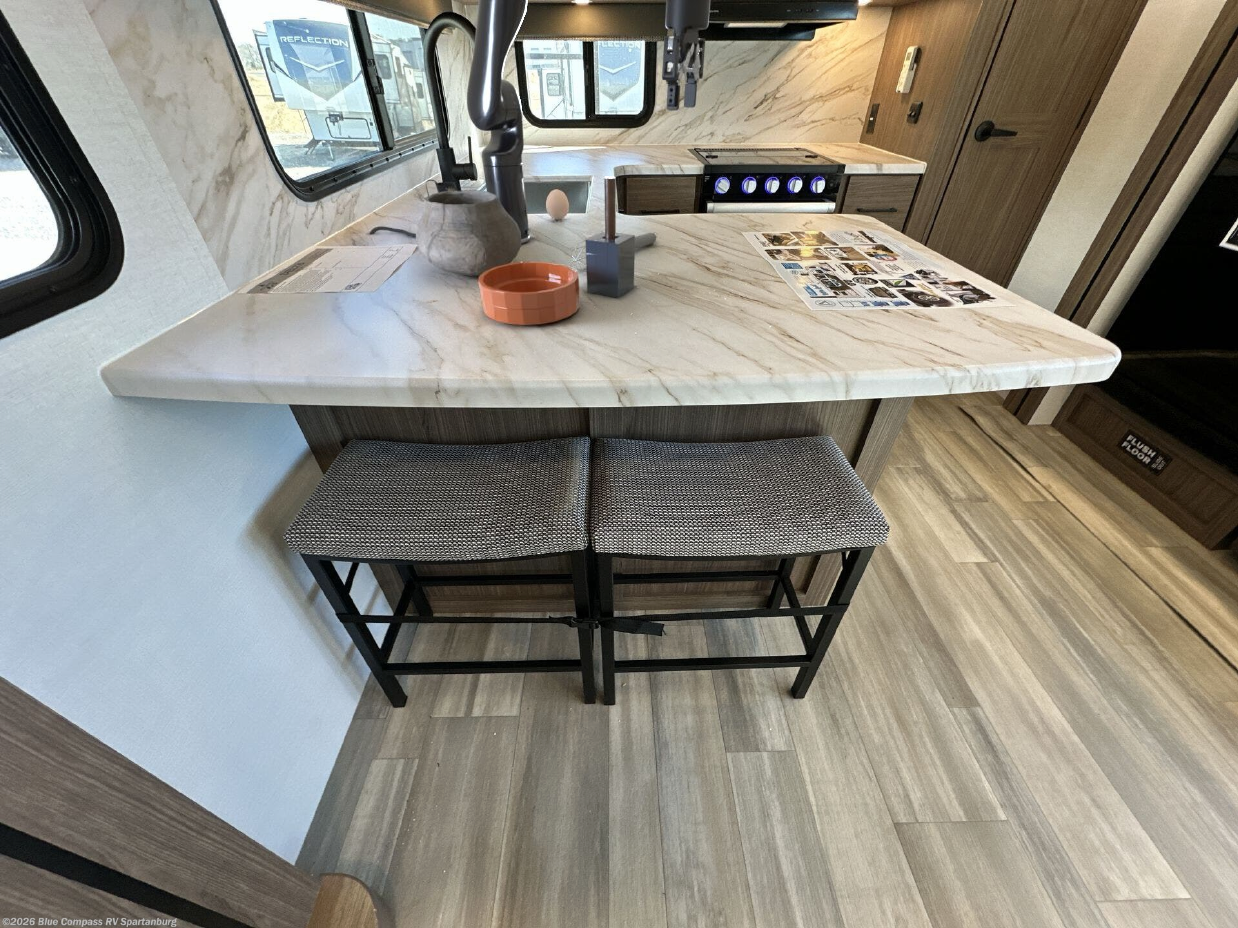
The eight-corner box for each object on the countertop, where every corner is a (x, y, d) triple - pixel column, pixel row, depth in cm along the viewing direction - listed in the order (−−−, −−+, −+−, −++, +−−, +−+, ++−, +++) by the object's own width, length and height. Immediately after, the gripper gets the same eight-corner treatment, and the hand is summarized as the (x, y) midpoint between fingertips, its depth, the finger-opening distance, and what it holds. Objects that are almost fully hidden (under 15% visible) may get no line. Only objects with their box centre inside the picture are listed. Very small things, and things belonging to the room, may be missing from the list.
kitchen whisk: (666, 243, 129) (668, 216, 125) (588, 280, 107) (586, 249, 103) (646, 239, 132) (647, 213, 128) (565, 275, 110) (563, 244, 106)
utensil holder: (587, 292, 101) (585, 239, 95) (604, 281, 106) (603, 231, 100) (618, 298, 98) (618, 244, 92) (633, 287, 103) (635, 235, 97)
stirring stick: (604, 290, 102) (602, 178, 89) (608, 287, 103) (607, 176, 91) (612, 292, 101) (612, 179, 89) (617, 289, 102) (617, 177, 90)
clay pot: (537, 260, 117) (530, 188, 108) (502, 291, 101) (491, 209, 92) (451, 254, 121) (437, 184, 112) (404, 283, 105) (383, 204, 95)
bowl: (463, 316, 91) (457, 283, 87) (522, 287, 103) (518, 256, 100) (544, 335, 85) (541, 300, 81) (596, 301, 97) (595, 270, 93)
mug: (464, 225, 143) (456, 177, 136) (464, 230, 139) (455, 181, 132) (435, 226, 142) (425, 178, 134) (434, 231, 138) (424, 182, 130)
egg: (574, 219, 149) (572, 189, 144) (558, 223, 145) (556, 192, 140) (558, 216, 152) (556, 186, 147) (542, 220, 148) (539, 189, 143)
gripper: (683, -2, 92) (677, 106, 102) (651, -11, 82) (647, 110, 92) (723, -4, 90) (712, 107, 100) (694, -13, 80) (685, 112, 90)
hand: (681, 109), depth 96 cm, fingers open, 8 cm apart
